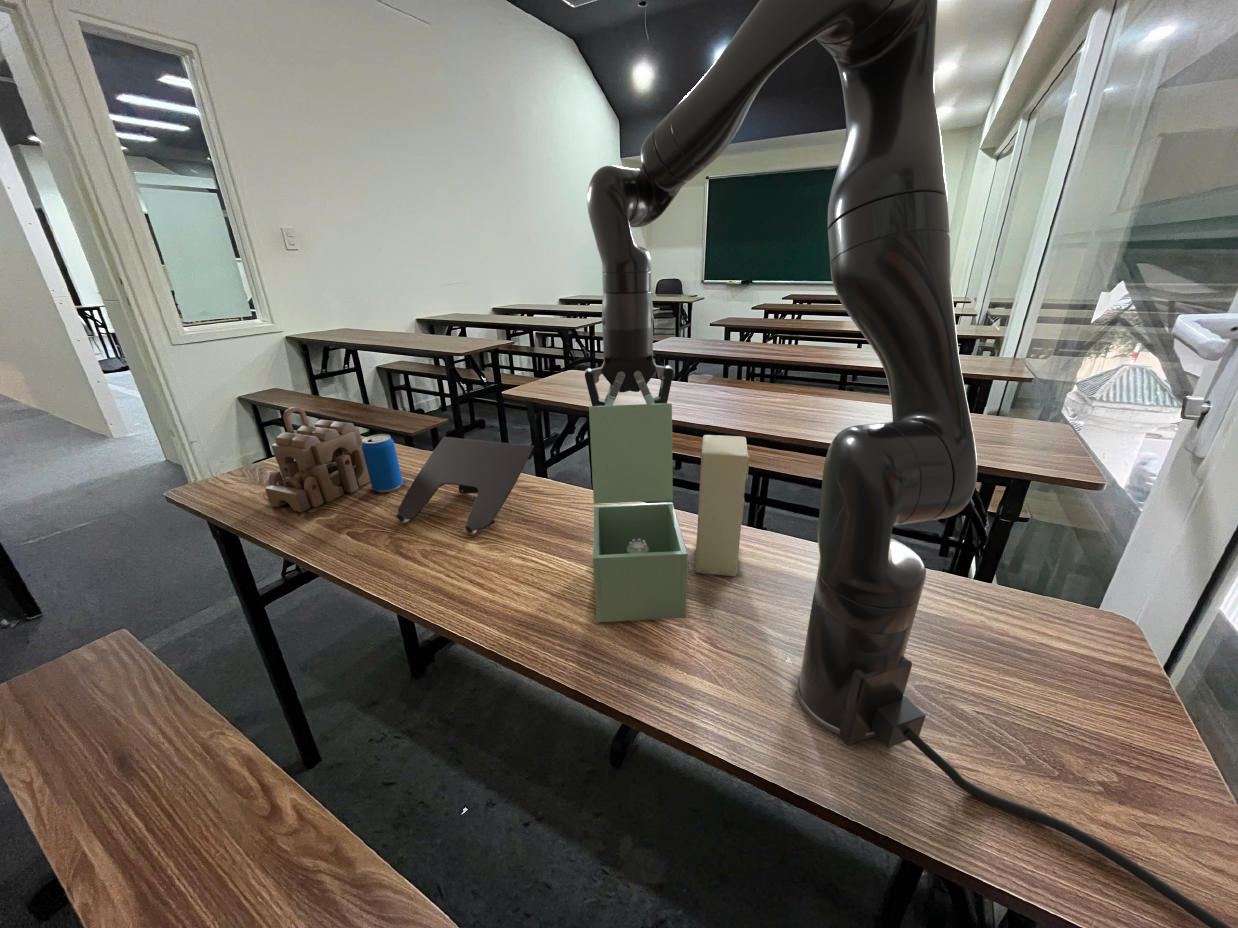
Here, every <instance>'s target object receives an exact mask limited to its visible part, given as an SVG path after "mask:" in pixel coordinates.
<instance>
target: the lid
mask: <svg viewBox="0 0 1238 928" xmlns="http://www.w3.org/2000/svg"><path fill="white" fill-rule="evenodd" d="M588 416H589V417H588V419H589V434H590V454H591V455H590V456H591V457H590V458H591V474H592V475H591V477H592V479H591V480H592V496H593V504H594V505H597V504H620V503H621V504H622V503H642V502H662V501H664V502H665V501H668V502H669V501H674V497H673V496H674V489H673V487H674V486H673V485H674V484H673V479H674V477H673V404H672V403H671V402H667V403H663V404H646V403H639V404H613V405H611V406H592V405H589V406H588Z"/></svg>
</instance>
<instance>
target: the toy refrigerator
mask: <svg viewBox="0 0 1238 928" xmlns="http://www.w3.org/2000/svg"><path fill="white" fill-rule="evenodd" d="M750 457H751V456H750V454H748V444H747V438H746V437H745V436H739V435H716V434H704V435H703V437H702V446H701V456H700V474H699V491H698V492H699V493H698V509H697V513H698V514H697V526H696V527H697V529H696V544H695V545H696V546H695V547H696V548H695V564H694V565H695V566H694V572H695V573H698V574H707V575H709V574H710V575H717V576H726V577H736V576H737V573H738V563H739V551H740V542H741V531H742V522H743V518H744V510H745V509H744V508H745V488H746V480H748V478H749V477H748V476H749V470H750V469H749V467H750Z"/></svg>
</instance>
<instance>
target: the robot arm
mask: <svg viewBox="0 0 1238 928" xmlns="http://www.w3.org/2000/svg"><path fill="white" fill-rule="evenodd" d="M938 2H939V1H938V0H759V1H758V2H757V3H756V5H755V6H754V8H753V9H752V11H750V13H749V15H748V16H747V17H746V19H745V20H744V21H743V23H742V24H741V25H740V26H739V28H738V30H737V31H736V32H735V34H734V35H733V37H732V38H731V39H730V41H729V42H728V44H727V45H726V46H725V48H724V49H723V50H722V52H721V54H719V56H718V57H717V59H716V60H715V61H714V62H713V64H712V65H711V67H710V68H709V69H708V70H707V72H706V73H705V74H704V76H702V78H701V79H700V80H699V81H698V82H697V83H696V85H695V86H694V87H693V88H692V89H691V91H689V92H688V93H687V95H685V96H684V97H683V99H682V100H681V101H680V102H679V103H678V104H676V106H675V107H673V109H672V110H670V112H669V113H668V114H666V116H665V117H664V118H663V119H662V120H661V121H660V122H659V123H658V124H657V125H656V126H655V127H654V128H653V129H652V130H651V131H650V132H649V133H648V135H647V136H646V138H645V139H644V140H643V143H642V144H641V148H640V162H641V166H639V167H637V168H632V167H625V166H619V165H611V164H610V165H604V166H601V167H600V168H598V169H597V170H596V171H595V172H594V173H593V175H592V177H591V179H590V181H589V184H588V187H587V192H586V193H587V195H586V207H587V214H588V218H589V223H590V226H591V229H592V233H593V237H594V240H595V244H596V247H597V251H598V254H599V257H600V261H601V277H602V278H601V280H602V301H601V325H602V345H603V347H602V349H603V350H602V351H603V361H602V364H601V366H600V367H595V368H590V367H587V368H586V369H585V370H584V379H585V384H586V387H587V391H588V396H589V399H590V403H591V406H611V405H614V403H615V401H616V399H617V397H618V395H619V393H627V392H633V393H639V392H640V393H641V396H642V397H643V399H644V402H645V404H663V403H668V401H669V395H670V391H671V386H672V382H673V376H674V369H673V368H672V367H671V365H669V364H667V365H658V364H656V363H655V361H654V321H655V318H654V305H653V297H652V257H651V254H650V251H649V250H648V249H646V248H645V247H643V246H640V245H638V244H637V243H635V240H634V238H633V233H632V229H631V228H642V227H645V226H648V225H649V224H651V223H653V222H654V221H657V220H658V218H660V217H661V216H662V215H663V214H664V212H665V211H666V210H667V208H668V207H669V206H670V205H671V204H672V202H673V201H674V200H675V198H676V197H677V196H678V194H679V193H680V191H681V190H682V188H683V186H685V185H686V184H687V183H689V182H690V181H691V180H693V179H694V178H695V177H696V176H697V175H699V174H700V173H701V172H702V171H703V170H704V169H706V168H707V167H708V166H709V165H711V164H712V163H713V162H714V161H715V160H717V159H718V157H720V156H721V155H722V153H723V152H725V150H726V149H727V148H728V147H729V146H730V144H731V143H732V142H733V140H734V138H735V137H736V136H737V133H738V132H739V130H740V128H741V126H742V125H743V123H744V120H745V119H746V116H747V114H748V112H749V109H750V108H751V105H752V104H753V102H754V100H755V98H756V96H757V95H758V93H759V92H760V90H761V88H762V87H763V85H764V84H765V83H766V82H767V80H768V79H769V78H770V76H771V75H772V74H773V73H774V72H775V71H776V70H777V69H778V67H780V66H781V65H782V64H783V63H784V62H785V61H787V60H788V59H789V58H790V57H791V56H793V55H794V54H796V52H798V51H799V50H800V49H802V48H803V47H805V46H806V45H807V44H809V43H810V42H812V41H813V40H816V41H817V42H818V43H819V44H820V45H821V46H822V47H823V48H824V49H825V50H826V51H827V52H828V53H829V54H830V55H831V57H832V58H833V60H834V62H835V63H836V67H837V70H838V73H839V78H840V82H841V88H842V95H843V96H842V97H843V104H844V112H845V126H846V127H845V140H844V146H843V150H842V154H841V157H840V160H839V163H838V166H837V169H836V173H835V176H834V179H833V183H832V185H831V186H832V187H831V189H830V194H829V199H828V204H827V222H826V225H827V226H826V227H827V242H828V254H829V265H830V266H829V267H830V277H831V282H832V285H833V288H834V291H835V294H836V296H837V297H838V300H839V301H840V303H841V306H842V307H843V308H844V310H845V312H846V313H847V314H848V316H849V318H850V319H851V320H852V322H853V323H854V325H855V326H856V328H857V330H859V331H860V333H861V335H862V336H863V337H864V338H865V340H866V341H867V342H868V344H869V345H870V347H871V349H872V350H873V351H874V353H875V355H876V356H877V358H878V360H879V362H880V364H881V366H882V369H883V371H884V373H885V376H886V381H887V385H888V390H889V397H890V398H889V399H890V404H891V414H892V416H891V417H892V421H886V422H885V421H884V422H877V423H875V422H874V423H865V424H859V425H857V424H856V425H852V426H849V427H846V428H844V429H842V430H840V431H839V432H838V433H837V434H836V435H835V436H834V438H833V439H832V441H831V443H830V445H829V447H828V449H827V453H826V454H825V460H824V464H823V469H822V470H823V471H822V478H821V479H822V480H821V491H820V503H819V511H818V512H819V513H818V523H817V545H818V553H819V559H818V561H819V562H818V567H817V573H816V579H815V585H814V590H813V595H812V602H811V608H810V614H809V619H808V624H807V625H808V626H807V631H806V637H805V642H804V643H805V644H804V650H803V654H802V660H801V661H802V662H801V668H800V674H799V677H798V681H797V687H796V696H797V699H798V702H799V705H800V706H801V708H802V710H803V711H804V713H805V714H806V715H807V716H808V717H809V718H810V719H811V720H812V721H813V722H814V723H816V724H817V725H818V726H819V727H821V728H822V729H824V730H825V731H828V732H829V733H831V734H834V735H836V736H838V737H839V738H840V739H841V740H842V741H843V742H844V743H845V744H846V745H852V744H855V743H858V742H861V741H863V740H867V739H870V738H871V739H872V738H874V737H877V738H878V739H879V740H880V741H881V742H882V744H883V745H884V746H885V747H886V748H887V749H889V748H891V747H895V746H897V745H899V744H903V743H906V742H908V741H910V742H911V744H913V745H914V746H915V748H917V749H918V750H919V751H920V752H922V754H924V755H925V756H926V757H927V758H928V759H929V760H930V761H931V762H933V764H935V765H936V766H937V767H938V768H939V769H940V770H941V771H942V772H943V773H945V775H947V776H948V778H949V779H950V780H951V781H952V782H953V783H954V784H955V785H956V786H958V787H959V788H960V789H962V790H964V791H965V792H967V793H968V794H970V795H972V796H973V797H975V798H977V799H979V800H981V801H983V802H985V803H988V804H989V805H992V806H995V807H997V808H999V809H1001V810H1004V811H1007V812H1010V813H1013V814H1015V815H1018V816H1021V817H1023V818H1025V819H1026V818H1027V819H1029V820H1032V821H1035V822H1037V823H1040V824H1042V825H1045V826H1047V827H1049V828H1051V829H1054V830H1055V831H1058V832H1060V833H1062V834H1064V835H1066V836H1069V837H1071V838H1072V839H1074V840H1076V841H1078V842H1080V843H1081V844H1083V845H1085V846H1087V847H1089V848H1090V849H1092V850H1094V851H1095V852H1097V853H1098V854H1100V855H1102V856H1104V857H1105V858H1107V859H1108V860H1110V861H1112V862H1113V863H1115V864H1116V865H1118V866H1119V867H1121V868H1122V869H1124V870H1126V871H1127V872H1128V873H1130V874H1131V875H1133V876H1134V877H1136V878H1138V879H1139V880H1140V881H1142V882H1143V883H1145V884H1146V885H1147V886H1149V887H1151V888H1152V889H1154V890H1155V891H1157V892H1158V893H1159V894H1161V895H1162V896H1164V897H1165V898H1167V899H1168V900H1170V901H1171V902H1172V903H1174V904H1175V905H1177V906H1178V907H1180V908H1181V909H1182V910H1184V911H1185V912H1186V913H1188V914H1190V915H1191V916H1192V917H1194V918H1195V919H1197V920H1199V921H1200V922H1201V923H1202V924H1205V925H1206V926H1208V927H1209V928H1233V927H1232V926H1230V925H1229V924H1228V923H1226V922H1224V921H1222V920H1221V919H1219V918H1218V917H1216V916H1215V915H1214V914H1212V913H1210V912H1209V911H1208V910H1206V909H1204V908H1203V907H1202V906H1200V905H1198V904H1197V903H1196V902H1194V901H1192V900H1191V899H1190V898H1188V897H1186V896H1185V895H1183V894H1182V893H1181V892H1179V891H1178V890H1176V889H1174V888H1173V887H1171V886H1170V885H1168V884H1167V883H1166V882H1164V881H1163V880H1161V879H1160V878H1158V877H1157V876H1155V875H1154V874H1152V873H1151V872H1149V871H1148V870H1146V869H1145V868H1143V867H1142V866H1140V865H1139V864H1137V863H1136V862H1134V861H1133V860H1131V859H1130V858H1128V857H1126V856H1125V855H1123V854H1122V853H1120V852H1118V851H1117V850H1115V849H1114V848H1112V847H1110V846H1109V845H1107V844H1105V843H1104V842H1102V841H1100V840H1098V839H1096V838H1095V837H1093V836H1092V835H1090V834H1088V833H1087V832H1084V831H1082V830H1081V829H1079V828H1077V827H1074V826H1073V825H1071V824H1068V823H1067V822H1066V821H1063V820H1061V819H1059V818H1056V817H1054V816H1051V815H1049V814H1046V813H1044V812H1042V811H1040V810H1036V809H1033V808H1030V807H1028V806H1026V805H1022V804H1019V803H1016V802H1014V801H1011V800H1008V799H1005V798H1002V797H1000V796H997V795H995V794H993V793H991V792H989V791H986V790H984V789H982V788H981V787H979V786H976V785H975V784H973V783H971V782H970V781H968V780H967V779H965V778H964V777H963V776H962V775H961V774H960V773H959V772H958V771H957V770H956V769H955V768H954V767H953V766H952V765H951V764H950V763H948V762H947V761H946V760H945V759H944V758H943V757H942V756H941V755H940V754H938V753H937V752H936V751H935V750H934V749H933V748H932V747H931V746H930V745H929V744H927V742H925V741H924V740H923V739H922V738H921V737H920V735H921V732H922V728H923V725H924V723H925V719H926V717H927V716H926V714H925V713H924V712H923V711H922V710H921V709H920V708H919V707H917V705H916V704H915V703H914V702H912V700H910V699H909V697H908V696H906V695H905V691H906V689H907V685H908V681H909V677H910V674H911V671H912V667H913V662H912V660H911V659H909V658H908V657H907V656H906V655H905V654H906V650H907V647H908V644H909V640H910V635H911V631H912V629H913V625H914V621H915V618H916V613H917V610H918V608H919V607H918V606H919V604H920V600H921V596H922V594H923V590H924V587H925V583H926V577H927V570H926V566H925V563H924V561H923V560H922V558H921V557H920V556H919V555H918V554H917V552H916V551H914V550H913V549H912V548H910V547H909V546H907V545H905V544H904V543H902V542H900V541H898V540H896V539H894V538H892V532H893V529H894V526H902V525H910V524H916V523H924V522H931V521H937V520H938V521H939V520H942V519H947V518H951V517H953V516H956V515H958V514H960V512H962V511H964V509H965V508H966V507H967V505H969V504H970V502H971V500H972V498H973V496H974V492H975V489H976V486H977V480H978V457H977V448H976V441H975V436H974V430H973V424H972V418H971V414H970V408H969V403H968V399H967V393H966V387H965V383H964V378H963V372H962V366H961V361H960V360H961V359H960V354H959V345H958V336H957V325H956V315H955V305H954V296H953V284H952V271H951V270H952V269H951V233H950V232H951V230H950V218H949V217H950V216H949V215H950V214H949V202H948V201H949V200H948V191H947V190H948V189H947V181H946V174H945V163H944V153H943V144H942V135H941V129H940V121H939V115H938V110H937V104H936V96H935V55H936V54H935V53H936V36H937V35H936V34H937V32H936V31H937V20H938V19H937V18H938ZM655 374H657V378H658V379H659V381H660V385H659V389H658V390H659V391H658V395H657V396H655V397H653V396H652V393H651V390H650V388H649V386H648V384H649V382H650V380H651V379H652V377H653V376H654V375H655ZM601 375H603V377H604V378H605V380H606V381H607V382H608V383H609V384H610V385H609V386H608V390H607V393H606V395H605V398H604V399H602V398H600V397H599V396H600V395H599V391H598V388H597V387H598V386H597V383H599V381H600V376H601Z"/></svg>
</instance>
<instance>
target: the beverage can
mask: <svg viewBox="0 0 1238 928" xmlns="http://www.w3.org/2000/svg"><path fill="white" fill-rule="evenodd" d="M361 440H362V446H361V447H362V450H363V454H364V458H365V462H366V466H367V470H368V474H369V477H370V485H371V488H372V490H373V491H377V492H378V493H389V492H393V491H395V490H398V489H399V488H400V487H401V486H402V485H403V483H404V480H403V476H402V471H401V468H400V467H401V466H400V463H399V459H398V454H397V450H396V446H395V441H394V440H393V438H391V435H390V434H386V433H379V434H372V435H368V436H366V437H364V438H363V439H361Z"/></svg>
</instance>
